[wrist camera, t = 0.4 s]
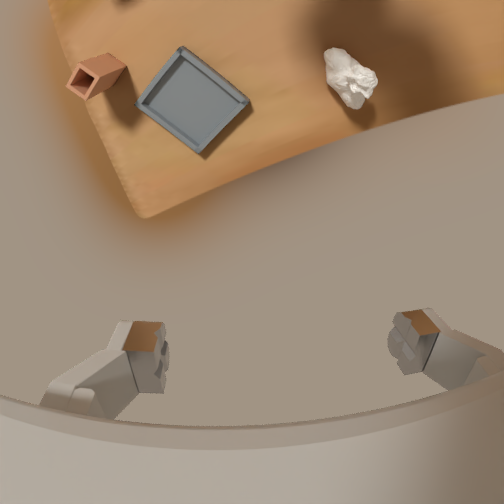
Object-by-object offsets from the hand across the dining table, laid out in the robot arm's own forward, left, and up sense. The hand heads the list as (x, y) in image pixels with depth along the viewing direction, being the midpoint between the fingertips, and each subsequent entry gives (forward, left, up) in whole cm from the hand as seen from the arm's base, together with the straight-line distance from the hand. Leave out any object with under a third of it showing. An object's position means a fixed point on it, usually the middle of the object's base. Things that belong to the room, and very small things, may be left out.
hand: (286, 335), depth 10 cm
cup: (+18, -24, -51) cm, 59 cm away
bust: (-10, +9, -51) cm, 53 cm away
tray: (+13, -7, -51) cm, 53 cm away
